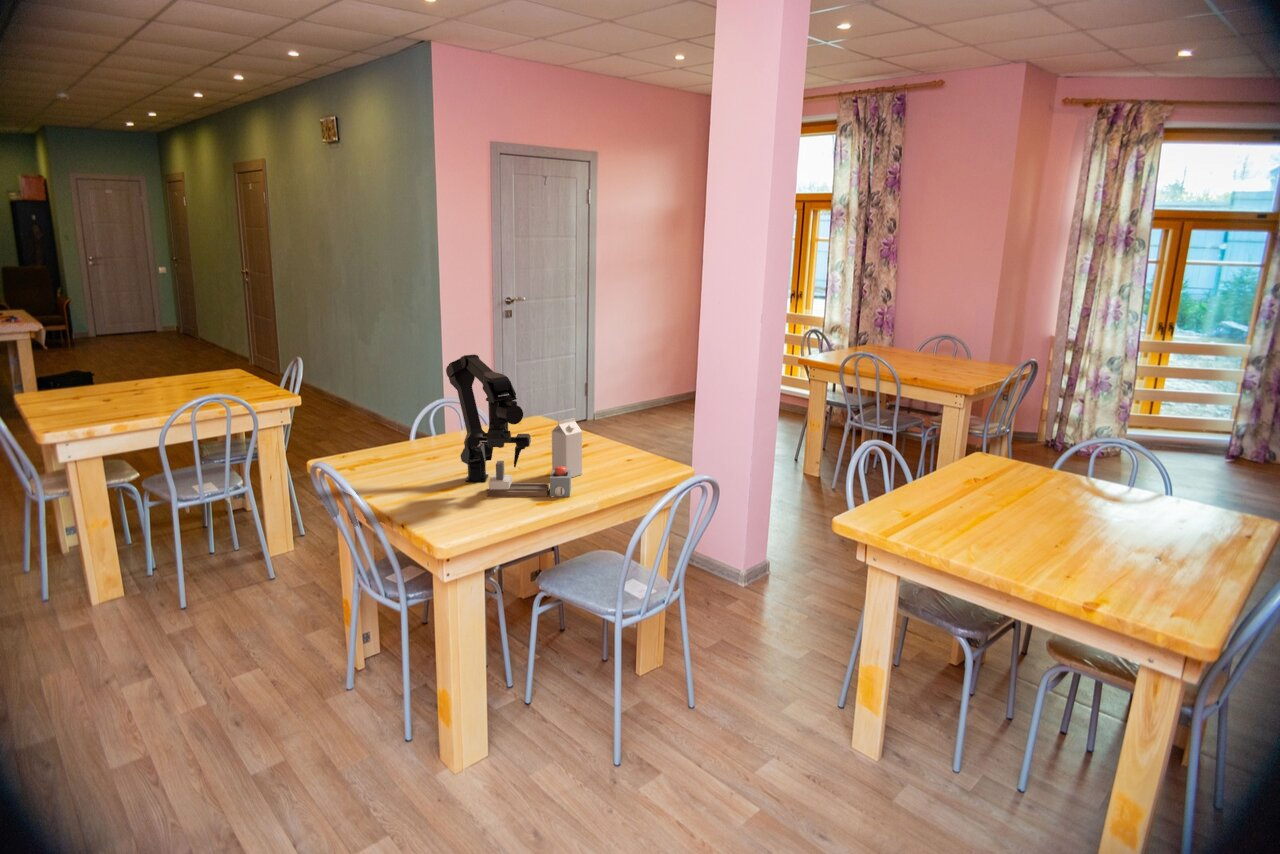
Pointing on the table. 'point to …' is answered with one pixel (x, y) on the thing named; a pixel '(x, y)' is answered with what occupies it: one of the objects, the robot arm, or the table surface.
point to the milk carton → (567, 446)
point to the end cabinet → (560, 484)
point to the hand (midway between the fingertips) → (499, 467)
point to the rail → (520, 490)
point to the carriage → (500, 478)
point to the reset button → (560, 470)
